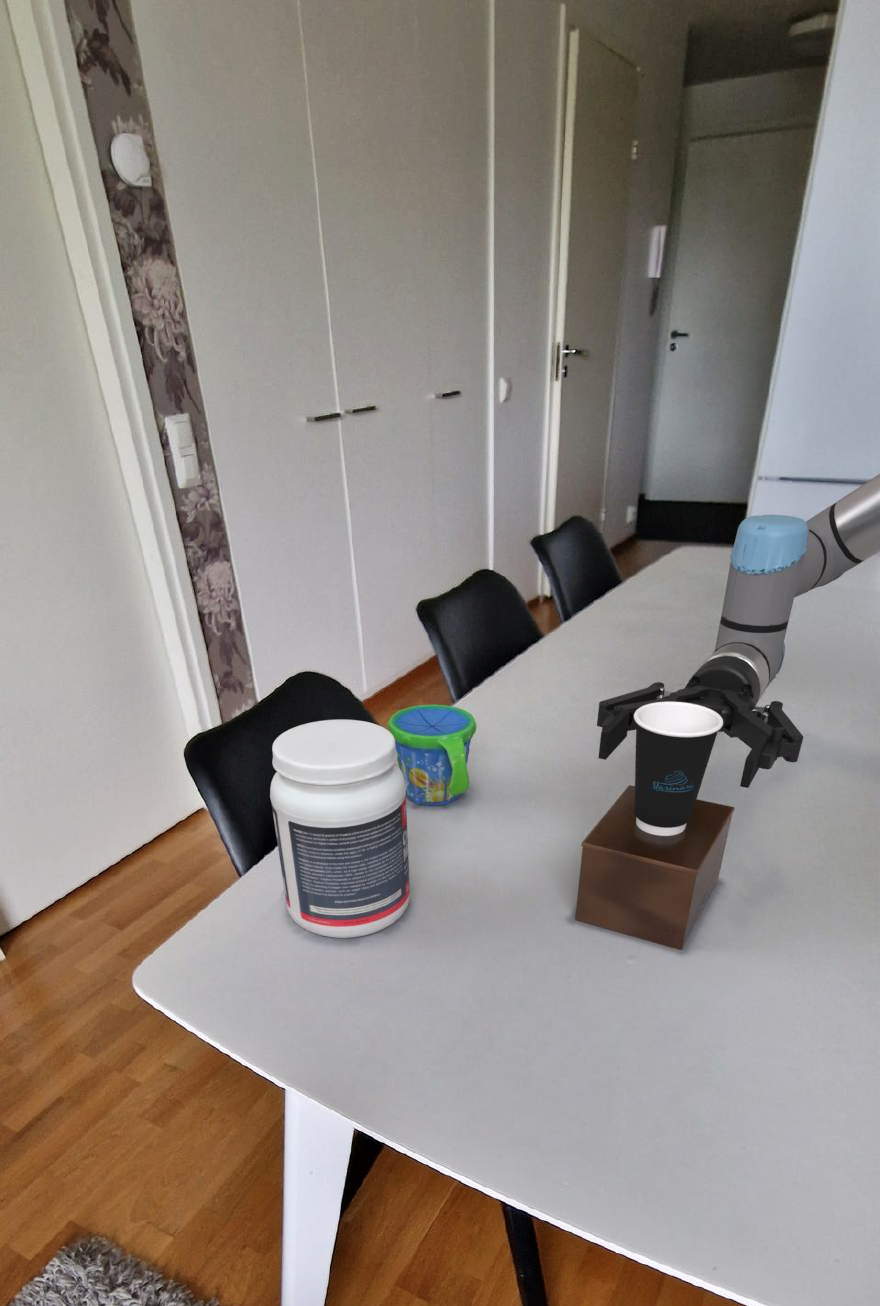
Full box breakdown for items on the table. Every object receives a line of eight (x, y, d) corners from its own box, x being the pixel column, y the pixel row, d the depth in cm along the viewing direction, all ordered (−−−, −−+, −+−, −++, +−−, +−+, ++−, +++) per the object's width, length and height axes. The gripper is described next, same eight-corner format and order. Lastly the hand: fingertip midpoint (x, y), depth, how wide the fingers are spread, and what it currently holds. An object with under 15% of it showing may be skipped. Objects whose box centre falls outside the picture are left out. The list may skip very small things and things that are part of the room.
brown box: (718, 881, 91) (735, 807, 86) (682, 951, 81) (698, 871, 76) (619, 857, 96) (629, 784, 90) (573, 920, 86) (581, 842, 80)
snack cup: (494, 814, 104) (496, 736, 98) (413, 829, 101) (410, 749, 95) (450, 765, 116) (450, 692, 110) (377, 776, 113) (372, 703, 107)
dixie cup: (661, 798, 88) (678, 695, 81) (719, 829, 82) (742, 721, 76) (603, 818, 84) (616, 711, 78) (659, 852, 79) (678, 740, 72)
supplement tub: (436, 907, 88) (433, 740, 77) (341, 961, 80) (323, 785, 70) (355, 863, 95) (343, 705, 84) (262, 909, 88) (234, 742, 77)
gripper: (836, 740, 91) (802, 824, 76) (614, 703, 101) (546, 770, 86) (855, 671, 87) (824, 745, 72) (622, 639, 96) (551, 698, 81)
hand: (672, 759), depth 79 cm, fingers open, 13 cm apart
